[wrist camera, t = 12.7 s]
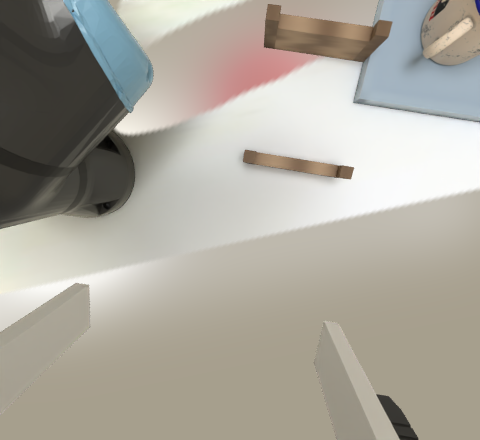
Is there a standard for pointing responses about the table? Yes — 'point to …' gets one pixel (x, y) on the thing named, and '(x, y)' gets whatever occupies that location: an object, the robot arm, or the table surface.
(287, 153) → the table surface
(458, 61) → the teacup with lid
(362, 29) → the walnut rack
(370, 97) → the tray
